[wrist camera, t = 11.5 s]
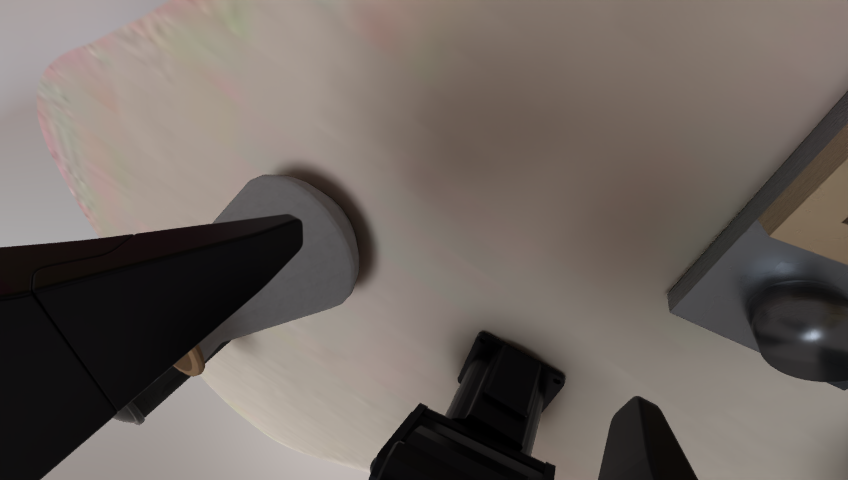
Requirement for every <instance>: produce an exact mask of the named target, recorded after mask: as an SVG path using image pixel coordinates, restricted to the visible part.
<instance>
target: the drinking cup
mask: <svg viewBox="0 0 848 480" xmlns="http://www.w3.org/2000/svg"><path fill="white" fill-rule="evenodd" d="M230 341H231V340H228V341H225V342H222V343H221V344H220V345H219V346H218V347H217V348H216V350H215V351H214V352H213V353H212V354H211V355H210V356H209V357H208V359H207V360H206V361H205V363H206V362H207V361H209V360H210V359H211V358H212V357H213V356H214V355H215V354H216V353H217V352H219V351H220V350H221V349H222V348H223V347H224V346H225V345H226V344H228V343H229V342H230ZM190 377H191V376H190V375H187V374H185V373H183V372H181V371H179V370H178V369H177V368H175V367H174V366H172V367H171V368H170V369H169V370H167V371H166V372H165V373H164V374H163V375H162V376H160V377H159V378H158V379H157V380H156V381H155V382H153V383H152V384H151V385H150V386H149V387H148V388H146V389H145V390H144V391H143V392H142V393H141V394H139V395H138V396H137V397H136V398H135V399H134V400H132V401H131V402H130V403H129V404H128V405H127V406H125V407H124V408H123V409H122V410H121V411H119V412H118V413H117V414H116V415H115V416H114V417H113V418H114V419H117V420H119V421H123V422H130V423H135V424H137V425H140V424H142V423H143V422H144V420H145V419H144V418H145V417H146V416H147V415H148V414H149V413H150V412H152V411H153V410H154V409H155V408H156V407H157V406H158V405H159V404H160V403H162V402H163V401H164V400H165V399H166V398H167V397H168V396H169V395H170V394H172V393H173V392H174V391H175V390H176V389H177V388H178V387H179V386H181V385H182V384H183V383H184V382H185V381H186V380H187V379H188V378H190Z"/></svg>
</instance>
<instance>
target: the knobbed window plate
mask: <svg viewBox="0 0 848 480" xmlns="http://www.w3.org/2000/svg"><path fill="white" fill-rule="evenodd" d="M667 296H668V304H669V311H670V313H672V314H674V315H677V316H679V317H681V318H683V319H686V320H688V321H690V322H692V323H695V324H697V325H699V326H701V327H704V328H706V329H708V330H710V331H713V332H715V333H717V334H719V335H721V336H724V337H726V338H728V339H730V340H733V341H735V342H737V343H739V344H742V345H744V346H746V347H748V348H751V349H753V350H755V351H757V352H759V353H761V355H762V357H763V358H764V359H765V361H766V362H767V363H768V364H770V365H771V366H772V367H774V368H775V369H777V370H778V371H780V372H782V373H785V374H787V375H790V376H793V377H796V378H800V379H804V380H810V381H818V382H827V383H829V384H831V385H833V386H836V387H838V388H840V389H842V390H846V389H848V92H847V93H846V94H845V95H844V96H843V97H842V99H841V100H840V101H839V102H838V103H837V104H836V105H835V106H834V108H833V109H832V110H831V111H830V112H829V113H828V114H827V115H826V117H825V118H824V119H823V120H822V121H821V122H820V123H819V124H818V126H817V127H816V128H815V129H814V130H813V131H812V132H811V133H810V135H809V136H808V137H807V138H806V139H805V140H804V141H803V142H802V144H801V145H800V146H799V147H798V148H797V149H796V150H795V151H794V153H793V154H792V155H791V156H790V157H789V158H788V159H787V160H786V162H785V163H784V164H783V165H782V166H781V167H780V168H779V169H778V170H777V172H776V173H775V174H774V175H773V176H772V177H771V178H770V179H769V181H768V182H767V183H766V184H765V185H764V186H763V187H762V188H761V190H760V191H759V192H758V193H757V194H756V195H755V196H754V197H753V199H752V200H751V201H750V202H749V203H748V204H747V205H746V206H745V208H744V209H743V210H742V211H741V212H740V213H739V214H738V215H737V217H736V218H735V219H734V220H733V221H732V222H731V223H730V224H729V226H728V227H727V228H726V229H725V230H724V231H723V232H722V233H721V234H720V236H719V237H718V238H717V239H716V240H715V241H714V242H713V243H712V245H711V246H710V247H709V248H708V249H707V250H706V251H705V252H704V254H703V255H702V256H701V257H700V258H699V259H698V260H697V261H696V263H695V264H694V265H693V266H692V267H691V268H690V269H689V270H688V272H687V273H686V274H685V275H684V276H683V277H682V278H681V279H680V281H679V282H678V283H677V284H676V285H675V286H674V287H673V288H672V290H671V291H670V292H669V293H668V294H667Z"/></svg>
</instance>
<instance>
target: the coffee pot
mask: <svg viewBox="0 0 848 480" xmlns="http://www.w3.org/2000/svg"><path fill="white" fill-rule="evenodd" d="M282 214H291V215H293V216H295V217H297V218H299V219H300V220H301V221H302V223H303V246H302V248H301V249H300V251H299V252H298V253H297V254H296V255H295V256H294V257H293V258H292V259H291V260H290V261H289V262H288V263H287V264H286V265H285V266H284V267H283V269H282V270H281V271H280V272H279V273H278V274H277V275H276V276H275V277H274V278H273V279H272V280H271V281H270V282H269V283H268V284H267V285H266V286H265V287H264V288H263V289H262V290H261V291H260V292H258V293H257V294H256V295H255V296H254V297H253V298H251V299H250V300H249V301H248V302H247V303H246V304H244V305H243V306H242V307H241V308H240V309H239V310H237V311H236V312H235V313H234V314H233V315H232V316H230V317H229V318H228V319H227V320H226V321H225V322H223V323H222V324H221V325H220V326H219V327H218V328H216V329H215V330H214V331H213V332H212V333H211V334H209V335H208V336H207V337H206V338H205V339H204V340H202V341H201V342H200V343H199V344H198V345H197V346H195V347H194V348H193V349H192V350H191V351H190V352H188V353H187V354H186V355H185V356H184V357H183V358H181V359H180V360H179V361H178V362H177V363H176V364H174V365H173V366H174V367H175V368H177V369H178V370H179V371H181V372H183V373H185V374H187V375H190V376H197V375H200V374H202V372H203V371H204V368H205V361H206V360H207V359H208V357H209V356H210V355H211V354H212V353H213V352H214V351H215V350H216V348H217V347H218V346H219V345H220V344H221V343H222V342H225V341H228V340H232V339H235V338H238V337H241V336H244V335H248V334H251V333H254V332H257V331H260V330H263V329H267V328H270V327H273V326H276V325H279V324H283V323H286V322H289V321H292V320H295V319H298V318H302V317H305V316H308V315H311V314H314V313H318V312H321V311H324V310H327V309H330V308H333V307H335V306H338V305H340V304H342V303H343V302H344V301H345V300H346V299H347V298H348V297H349V296H350V294H351V293H352V291H353V288H354V285H355V282H356V279H357V276H358V273H359V253H358V248H357V241H356V237H355V233H354V229H353V227H352V225H351V223H350V221H349V219H348V217H347V216H346V214H345V213H344V212H343V210H342V209H341V207H340V206H339V205H338V204H337V203H336V202H335V201H334V200H333V199H332V198H330V197H329V196H327V195H326V194H324V193H323V192H321V191H319V190H318V189H316V188H315V187H313V186H312V185H310V184H308V183H307V182H304V181H302V180H299V179H296V178H294V177H291V176H283V175H262V176H259V177H257V178H255V179H252V180H250V181H249V182H248V183H247V184H246V185H245V186H244V188H243V189H242V190H241V191H240V192H239V193H238V194H237V196H236V197H235V198H234V199H233V200H232V201H231V202H230V204H229V205H228V206H227V207H226V208H225V209H224V210H223V212H222V213H221V214H220V215H219V216H218V217H217V218H216V220H215V221H214V222H213V223H221V222H229V221H236V220H244V219H251V218H259V217H267V216H274V215H282ZM213 223H212V224H213Z"/></svg>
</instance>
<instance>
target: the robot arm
mask: <svg viewBox="0 0 848 480" xmlns="http://www.w3.org/2000/svg"><path fill="white" fill-rule="evenodd" d="M302 246H303V223H302V221H301V220H300V219H299V218H297V217H295V216H293V215H291V214H282V215H274V216H267V217H259V218H251V219H244V220H236V221H229V222H221V223H213V224H206V225H198V226H191V227H183V228H176V229H168V230H160V231H153V232H145V233H138V234H135V235H133V234H129V235H122V236H115V237H106V238H98V239H90V240H81V241H69V242H60V243H47V244H36V245H24V246H12V247H0V480H40V479H42V478H43V477H44V476H45V475H46V474H47V473H48V472H50V471H51V470H52V469H53V468H54V467H56V466H57V465H58V464H59V463H60V462H61V461H63V460H64V459H65V458H66V457H67V456H68V455H70V454H71V453H72V452H73V451H74V450H75V449H77V448H78V447H79V446H80V445H81V444H82V443H84V442H85V441H86V440H87V439H88V438H89V437H91V436H92V435H93V434H94V433H95V432H96V431H98V430H99V429H100V428H101V427H102V426H103V425H104V424H106V423H107V422H108V421H109V420H110V419H111V418H113V417H114V416H115V415H116V414H117V413H118V412H119V411H121V410H122V409H123V408H124V407H125V406H127V405H128V404H129V403H130V402H131V401H132V400H134V399H135V398H136V397H137V396H138V395H139V394H141V393H142V392H143V391H144V390H145V389H146V388H148V387H149V386H150V385H151V384H152V383H153V382H155V381H156V380H157V379H158V378H159V377H160V376H162V375H163V374H164V373H165V372H166V371H167V370H169V369H170V368H171V367H172V366H173V365H174V364H176V363H177V362H178V361H179V360H180V359H181V358H183V357H184V356H185V355H186V354H187V353H188V352H190V351H191V350H192V349H193V348H194V347H195V346H197V345H198V344H199V343H200V342H201V341H202V340H204V339H205V338H206V337H207V336H208V335H209V334H211V333H212V332H213V331H214V330H215V329H216V328H218V327H219V326H220V325H221V324H222V323H223V322H225V321H226V320H227V319H228V318H229V317H230V316H232V315H233V314H234V313H235V312H236V311H237V310H239V309H240V308H241V307H242V306H243V305H244V304H246V303H247V302H248V301H249V300H250V299H251V298H253V297H254V296H255V295H256V294H257V293H258V292H260V291H261V290H262V289H263V288H264V287H265V286H266V285H267V284H268V283H269V282H270V281H271V280H272V279H273V278H274V277H275V276H276V275H277V274H278V273H279V272H280V271H281V270H282V269H283V267H284V266H285V265H286V264H287V263H288V262H289V261H290V260H291V259H292V258H293V257H294V256H295V255H296V254H297V253H298V252H299V251H300V249H301V248H302ZM482 338H483V339H482ZM484 339H485V340H484ZM558 379H559V380H558ZM565 380H566V378H565V376H564V375H563V374H562V373H560V372H558V371H556V370H555V369H553V368H551V367H549V366H547V365H545V364H543V363H542V362H540V361H538V360H536V359H534V358H532V357H530V356H529V355H527V354H525V353H523V352H521V351H519V350H517V349H516V348H514V347H512V346H510V345H508V344H506V343H504V342H502V341H501V340H499V339H497V338H495V337H493V336H491V335H489V334H488V333H485V332H480V333H479V334H478V336H477V338H476V340H475V342H474V344H473V346H472V349H471V351H470V353H469V355H468V357H467V359H466V362H465V364H464V366H463V368H462V370H461V373H460V375H459V377H458V382H459V383H460V386H459V388H458V390H457V392H456V394H455V396H454V398H453V400H452V402H451V405H450V407H449V409H448V411H447V413H446V415H445V416H444V415H442V414H439V413H437V412H435V411H433V410H431V409H429V408H428V406H426V405H424V404H422V403H420V404H419V405H418V406H417V407H416V408H415V410H414V411H413V412H411V413H410V414H409V416H408V417H407V418H406V419H405V421H404V422H403V423H402V424H401V425H400V427H399V428H398V429H397V430H396V432H395V433H394V434H393V435H392V437H391V438H390V439H389V440H388V442H387V443H386V444H385V445H384V446H383V448H382V449H381V450H380V451H379V453H378V455H377V457H376V458H374V460H373V461H372V463H371V466H370V472H371V474H370V477H369V480H554V475H555V468H556V466H554V465H552V464H550V463H548V462H546V463H544V462H542V461H540V460H537V459H535V458H533V457H531V453H532V449H533V445H534V441H535V436H536V432H537V428H538V424H539V420H540V415H541V413H542V412H543V411H544V409H545V408H546V407H547V406H548V404H549V403H550V402H551V401H552V400H553V398H554V397H555V396H556V395H557V393H558V392H559V391H560V390H561V389H562V387H563V386H564V384H565ZM598 480H698V478H697V477H696V475H695V473H694V471H693V469H692V467H691V465H690V463H689V462H688V460H687V458H686V456H685V454H684V452H683V450H682V449H681V447H680V445H679V443H678V441H677V439H676V437H675V435H674V434H673V432H672V430H671V428H670V426H669V424H668V422H667V421H666V419H665V417H664V415H663V413H662V411H661V410H660V408H659V407H658V406H657V405H655V404H653V403H652V402H650V401H648V400H646V399H644V398H642V397H640V396H635V397H633V398H632V399H630V400H629V401H628V402H627V403H626V404H625V405H624V406H623V407H622V408H621V409H620V410H619V411H617V412H616V413H615V415H614V416H613V418H612V421H611V424H610V428H609V433H608V437H607V442H606V446H605V451H604V455H603V460H602V464H601V469H600V473H599V478H598Z"/></svg>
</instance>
